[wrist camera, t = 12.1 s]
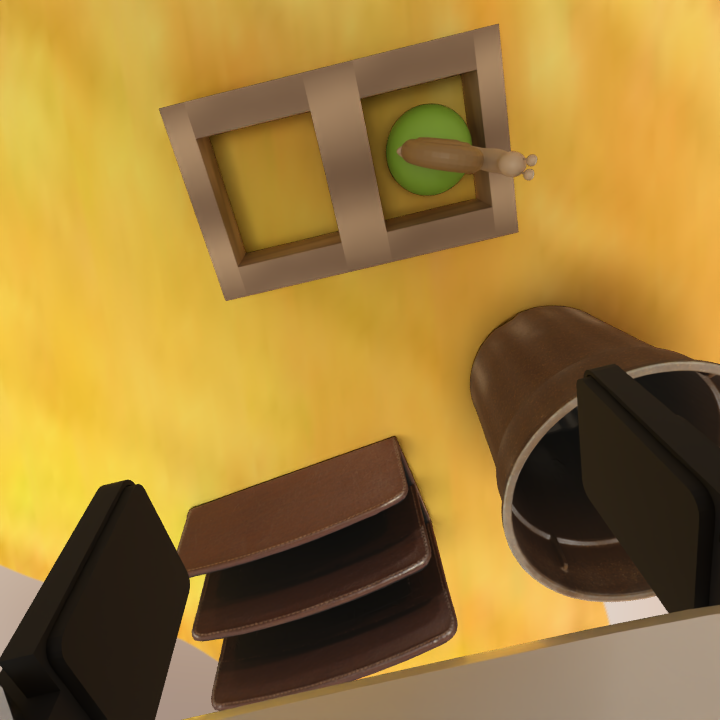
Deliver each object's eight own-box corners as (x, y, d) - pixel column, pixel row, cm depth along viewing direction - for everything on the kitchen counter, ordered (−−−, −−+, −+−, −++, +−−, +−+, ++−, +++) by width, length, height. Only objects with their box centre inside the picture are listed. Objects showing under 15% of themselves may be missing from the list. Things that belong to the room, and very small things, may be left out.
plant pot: (450, 277, 40) (522, 369, 26) (656, 272, 41) (840, 358, 27) (438, 457, 47) (490, 610, 33) (616, 449, 48) (744, 595, 33)
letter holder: (430, 516, 50) (467, 653, 37) (238, 581, 52) (210, 733, 39) (395, 432, 46) (423, 555, 33) (188, 506, 48) (139, 649, 35)
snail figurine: (467, 193, 38) (526, 225, 27) (378, 186, 37) (401, 216, 26) (481, 109, 36) (550, 106, 25) (386, 100, 35) (414, 93, 24)
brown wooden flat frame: (176, 109, 34) (158, 108, 31) (479, 33, 34) (498, 23, 30) (234, 283, 40) (225, 300, 36) (500, 221, 39) (518, 232, 35)
